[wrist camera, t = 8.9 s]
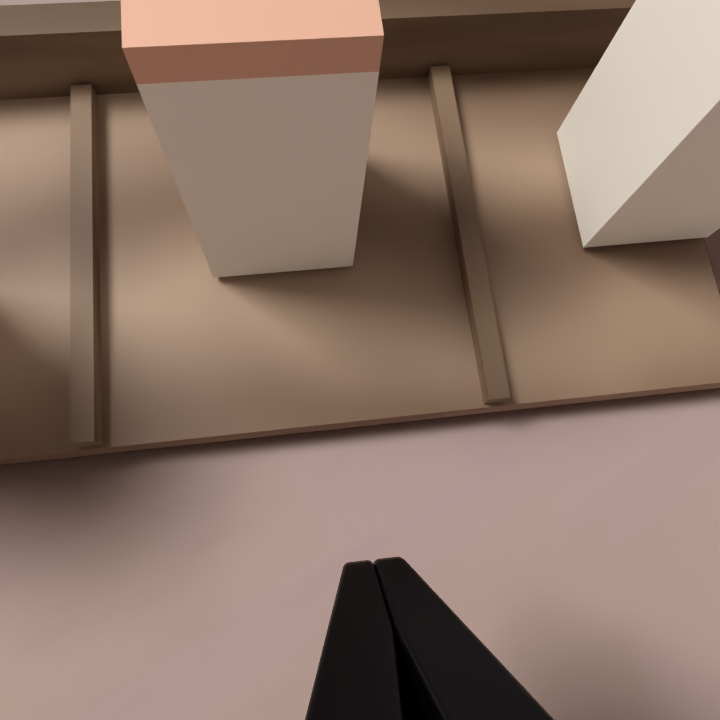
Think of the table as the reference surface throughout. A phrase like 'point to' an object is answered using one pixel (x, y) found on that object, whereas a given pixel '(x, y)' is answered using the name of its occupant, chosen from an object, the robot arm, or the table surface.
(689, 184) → the white tall block
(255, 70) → the peach block
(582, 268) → the brown divided rack
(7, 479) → the table surface
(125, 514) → the table surface
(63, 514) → the table surface
